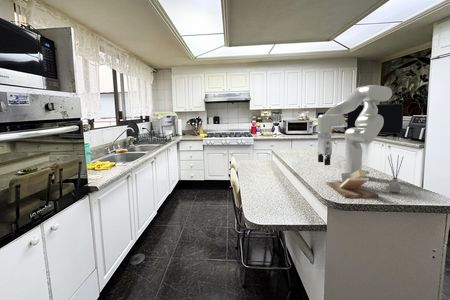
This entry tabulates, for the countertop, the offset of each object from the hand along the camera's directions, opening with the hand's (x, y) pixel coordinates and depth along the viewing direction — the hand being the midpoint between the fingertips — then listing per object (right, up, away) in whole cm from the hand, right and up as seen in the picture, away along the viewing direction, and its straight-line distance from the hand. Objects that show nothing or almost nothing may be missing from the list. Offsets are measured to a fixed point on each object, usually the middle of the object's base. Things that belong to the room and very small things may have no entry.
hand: (323, 163), depth 142 cm
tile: (+6, -8, -21) cm, 24 cm away
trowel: (+6, -7, -17) cm, 20 cm away
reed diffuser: (+27, -14, -20) cm, 36 cm away
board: (+6, -14, -17) cm, 22 cm away
